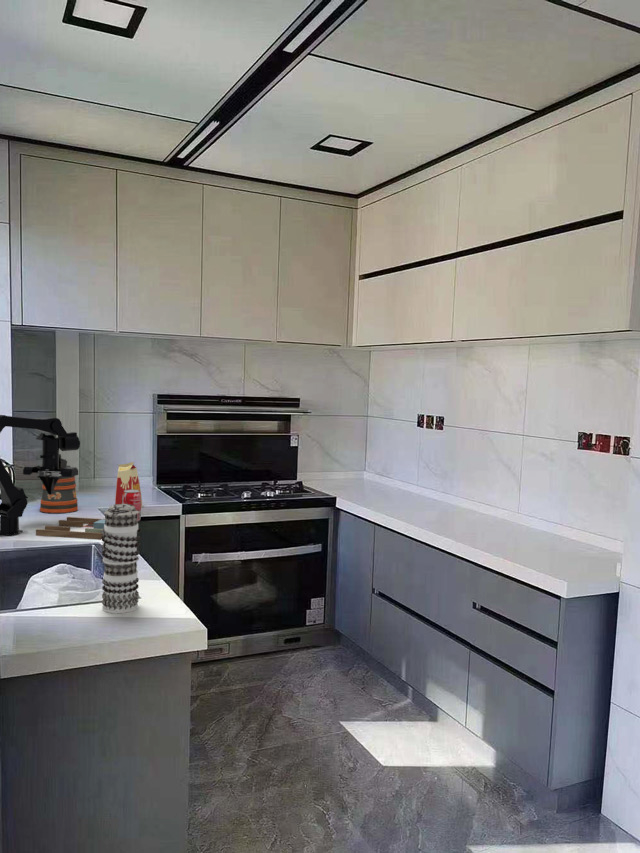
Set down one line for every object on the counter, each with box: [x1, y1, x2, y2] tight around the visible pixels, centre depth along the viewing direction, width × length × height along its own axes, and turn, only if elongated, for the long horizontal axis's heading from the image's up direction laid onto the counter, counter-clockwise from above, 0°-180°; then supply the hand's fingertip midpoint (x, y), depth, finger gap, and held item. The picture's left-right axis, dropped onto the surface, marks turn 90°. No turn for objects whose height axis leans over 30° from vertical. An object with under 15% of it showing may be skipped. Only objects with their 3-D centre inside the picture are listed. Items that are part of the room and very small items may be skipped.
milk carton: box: [114, 461, 144, 509], centre depth 291 cm, size 9×9×20 cm
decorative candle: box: [101, 503, 142, 614], centre depth 166 cm, size 9×9×25 cm
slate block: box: [92, 518, 105, 529], centre depth 246 cm, size 6×6×4 cm
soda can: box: [122, 490, 142, 523], centre depth 265 cm, size 7×7×12 cm
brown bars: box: [35, 516, 106, 540], centre depth 247 cm, size 23×26×3 cm
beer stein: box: [39, 458, 79, 515], centre depth 284 cm, size 19×15×20 cm
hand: (50, 494), depth 251 cm, fingers closed
